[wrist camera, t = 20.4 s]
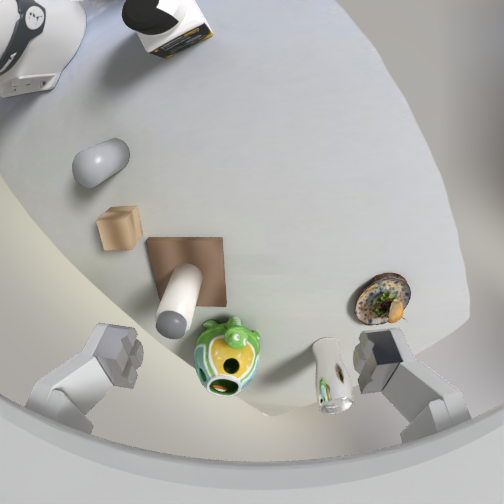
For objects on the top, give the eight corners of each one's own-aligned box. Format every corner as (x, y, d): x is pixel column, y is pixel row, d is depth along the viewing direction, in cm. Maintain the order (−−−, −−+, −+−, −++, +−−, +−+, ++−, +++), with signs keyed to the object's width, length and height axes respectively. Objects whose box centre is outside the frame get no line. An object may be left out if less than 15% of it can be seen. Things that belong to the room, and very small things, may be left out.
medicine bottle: (166, 60, 29) (127, 47, 19) (146, 23, 26) (105, 1, 15) (214, 35, 27) (195, 9, 17) (193, -2, 24) (167, -36, 14)
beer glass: (317, 333, 53) (329, 397, 40) (347, 337, 54) (363, 397, 41) (304, 354, 57) (311, 414, 44) (332, 357, 57) (344, 415, 45)
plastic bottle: (175, 287, 46) (156, 339, 36) (170, 262, 44) (148, 314, 33) (204, 288, 46) (191, 342, 36) (201, 263, 44) (185, 316, 33)
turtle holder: (276, 305, 50) (279, 358, 39) (249, 362, 59) (247, 408, 48) (207, 290, 48) (196, 342, 38) (194, 351, 57) (184, 397, 47)
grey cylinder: (103, 172, 37) (76, 189, 30) (99, 140, 34) (69, 153, 28) (131, 169, 37) (106, 186, 30) (127, 136, 34) (100, 147, 27)
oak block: (117, 234, 43) (104, 250, 38) (110, 207, 40) (96, 220, 36) (143, 234, 43) (131, 250, 38) (137, 205, 40) (124, 219, 36)
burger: (367, 267, 45) (382, 294, 39) (417, 276, 46) (434, 301, 40) (342, 317, 51) (351, 346, 45) (390, 321, 52) (402, 348, 46)
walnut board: (162, 299, 49) (161, 303, 48) (148, 237, 43) (146, 241, 42) (226, 302, 49) (226, 306, 48) (222, 237, 43) (221, 241, 42)
